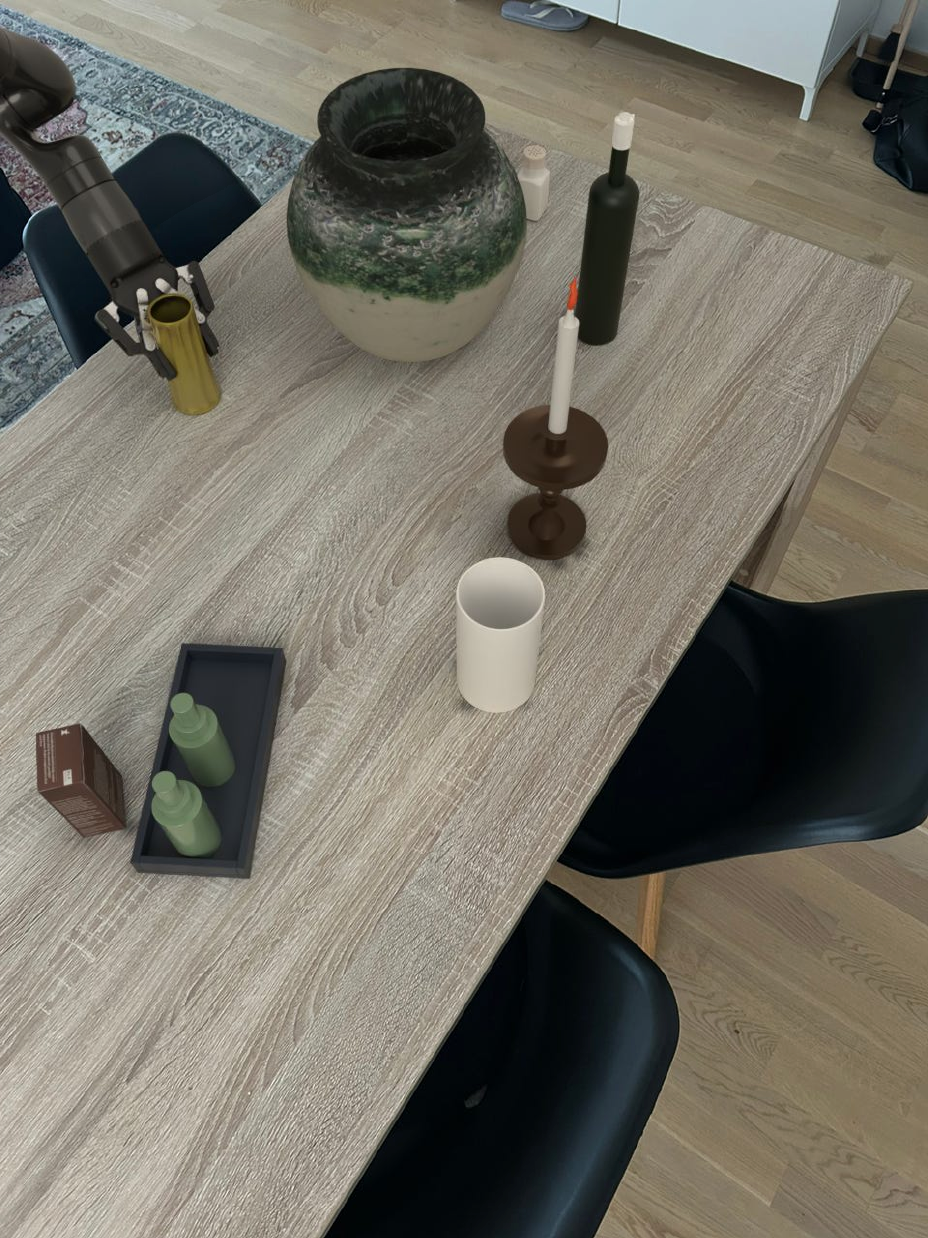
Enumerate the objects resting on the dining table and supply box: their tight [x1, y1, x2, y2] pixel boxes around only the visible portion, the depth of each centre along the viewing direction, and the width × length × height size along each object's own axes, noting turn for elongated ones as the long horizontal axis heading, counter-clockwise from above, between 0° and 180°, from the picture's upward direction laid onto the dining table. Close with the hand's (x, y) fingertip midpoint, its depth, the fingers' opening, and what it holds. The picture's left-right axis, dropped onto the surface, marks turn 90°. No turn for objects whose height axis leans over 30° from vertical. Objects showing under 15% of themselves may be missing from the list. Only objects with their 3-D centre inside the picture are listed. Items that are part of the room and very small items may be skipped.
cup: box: [455, 556, 546, 714], centre depth 102 cm, size 8×8×16 cm
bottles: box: [151, 693, 235, 859], centre depth 95 cm, size 4×12×14 cm, turn 177°
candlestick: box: [502, 276, 609, 561], centre depth 105 cm, size 11×11×35 cm
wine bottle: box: [574, 110, 640, 346], centre depth 124 cm, size 6×6×30 cm
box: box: [35, 722, 126, 839], centre depth 96 cm, size 6×4×12 cm
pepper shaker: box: [517, 144, 551, 222], centre depth 146 cm, size 4×4×10 cm
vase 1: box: [147, 292, 222, 416], centre depth 124 cm, size 6×6×14 cm
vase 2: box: [286, 67, 528, 363], centre depth 124 cm, size 28×28×30 cm
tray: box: [129, 642, 287, 880], centre depth 103 cm, size 11×24×3 cm, turn 177°
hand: (193, 366), depth 124 cm, fingers closed on vase 1, 5 cm apart
